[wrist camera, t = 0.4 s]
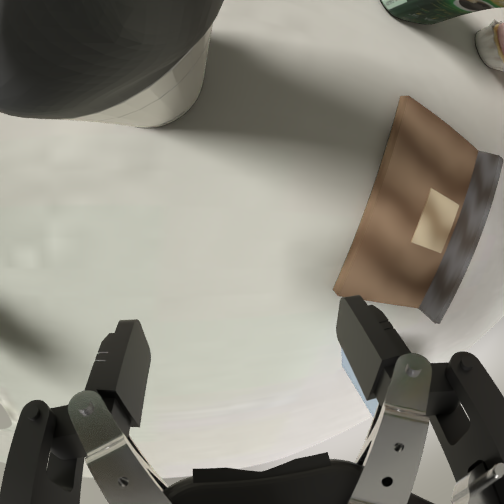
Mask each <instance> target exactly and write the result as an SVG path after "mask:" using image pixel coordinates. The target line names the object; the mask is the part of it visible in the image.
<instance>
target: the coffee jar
mask: <svg viewBox="0 0 504 504" xmlns="http://www.w3.org/2000/svg"><path fill="white" fill-rule="evenodd" d="M380 1H381V2H382V4H383V5H384V7H385V8H386V9H387V10H388V11H389V12H390V13H391V14H392V15H393V16H395V17H397V18H400V19H403V20H406V21H410V22H414V23H420V24H434V23H438V22H441V21H444V20H447V19H450V18H453V17H457V16H460V15H464V14H468V13H472V12H476V11H481V10H486V9H491V8H501V7H504V0H380Z"/></svg>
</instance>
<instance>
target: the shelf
mask: <svg viewBox="0 0 504 504" xmlns="http://www.w3.org/2000/svg"><path fill="white" fill-rule="evenodd" d="M502 164H503V159H502V158H501V157H500V156H498V155H494V154H490V153H485V152H481V151H478V150H477V149H476V148H475V147H474V146H472V145H471V144H470V143H469V142H468V141H467V140H466V139H465V138H463V137H462V136H461V135H460V134H459V133H457V132H456V131H455V130H454V129H453V128H451V127H450V126H449V125H448V124H446V123H445V122H444V121H443V120H441V119H440V118H439V117H437V116H436V115H435V114H434V113H432V112H431V111H429V110H428V109H427V108H425V107H424V106H423V105H421V104H420V103H418V102H417V101H416V100H414V99H413V98H411V97H410V96H400V100H399V103H398V107H397V111H396V115H395V118H394V122H393V125H392V129H391V132H390V136H389V139H388V143H387V146H386V149H385V152H384V156H383V159H382V162H381V165H380V168H379V171H378V174H377V177H376V180H375V183H374V186H373V189H372V192H371V195H370V197H369V200H368V203H367V206H366V208H365V211H364V214H363V217H362V219H361V222H360V225H359V227H358V230H357V232H356V235H355V238H354V240H353V243H352V245H351V248H350V250H349V253H348V255H347V257H346V260H345V262H344V265H343V267H342V269H341V272H340V274H339V276H338V279H337V281H336V283H335V286H334V288H333V290H334V292H335V293H336V294H337V295H338V296H342V297H349V296H355V295H360V296H361V297H362V298H363V300H367V301H373V302H380V303H386V304H393V305H400V306H407V307H414V308H419V309H420V310H421V311H422V312H423V313H424V314H425V315H427V316H428V317H429V318H430V319H431V320H432V321H433V322H434V323H438V324H440V322H441V320H442V318H443V316H444V315H445V313H446V311H447V309H448V307H449V305H450V303H451V301H452V300H453V298H454V296H455V294H456V292H457V290H458V288H459V285H460V283H461V281H462V279H463V277H464V275H465V273H466V270H467V268H468V266H469V264H470V261H471V259H472V257H473V254H474V252H475V249H476V247H477V244H478V242H479V239H480V236H481V234H482V231H483V228H484V226H485V223H486V220H487V217H488V214H489V211H490V208H491V205H492V201H493V198H494V195H495V191H496V188H497V184H498V180H499V176H500V172H501V168H502Z"/></svg>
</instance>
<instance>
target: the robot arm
mask: <svg viewBox="0 0 504 504" xmlns="http://www.w3.org/2000/svg"><path fill="white" fill-rule="evenodd" d="M223 1H224V0H0V112H1V113H4V114H8V115H11V116H17V117H23V118H38V119H60V120H76V121H90V122H101V123H110V124H119V125H127V126H134V127H137V128H153V127H158V126H163V125H166V124H168V123H170V122H173V121H175V120H176V119H178V118H179V117H181V116H182V115H184V114H185V113H186V112H187V111H188V110H189V109H190V108H191V107H192V105H193V104H194V102H195V101H196V100H197V98H198V96H199V94H200V91H201V89H202V84H203V79H204V74H205V67H206V61H207V55H208V49H209V43H210V37H211V31H212V24H213V22H214V20H215V18H216V16H217V14H218V12H219V10H220V8H221V6H222V3H223ZM336 332H337V338H338V341H339V343H340V345H341V347H342V349H343V351H344V353H345V355H346V358H347V360H348V362H349V364H350V366H351V368H352V370H353V372H354V374H355V377H356V379H357V381H358V383H359V385H360V387H361V390H362V392H363V394H364V396H365V398H366V400H367V401H368V400H372V399H375V398H376V399H377V401H378V403H379V404H378V406H377V409H376V412H375V415H374V417H373V420H372V423H371V426H370V429H369V431H368V434H367V437H366V439H365V442H364V444H363V447H362V449H361V451H360V453H359V455H358V457H357V459H356V461H355V463H353V462H350V461H345V460H337V459H329V456H328V452H326V453H322V454H318V455H313V456H308V457H303V458H298V459H294V460H292V461H289V462H287V463H284V464H283V465H279V466H277V467H274V468H271V469H269V470H266V471H262V472H257V471H247V470H239V469H232V468H210V469H193V476H192V477H189V478H186V479H183V480H180V481H178V482H176V483H174V484H173V485H171V486H168V485H167V484H166V483H165V482H164V481H163V480H162V478H161V477H160V476H159V475H158V474H157V473H156V471H155V470H154V469H153V468H152V466H151V465H150V464H149V462H148V461H147V460H146V458H145V457H144V456H143V454H142V453H141V451H140V450H139V449H138V447H137V446H136V444H135V443H134V441H133V440H132V438H131V437H130V436H129V430H130V427H140V422H141V415H142V409H143V402H144V396H145V390H146V384H147V378H148V373H149V367H150V362H151V354H150V348H149V345H148V343H147V340H146V337H145V335H144V332H143V329H142V327H141V324H140V322H139V320H137V319H136V320H120V321H119V323H118V325H117V328H116V331H115V333H109V334H108V336H107V337H106V338H105V339H104V340H103V341H102V343H101V345H100V348H99V351H98V354H97V356H96V359H95V362H94V364H93V367H92V370H91V373H90V376H89V379H88V382H87V385H86V388H85V390H84V391H82V392H79V393H77V394H76V395H75V396H73V397H72V399H71V400H70V402H69V404H68V405H66V406H61V407H56V408H49V406H48V405H47V404H46V403H45V402H44V401H41V400H34V401H31V402H29V403H28V404H26V405H25V406H24V408H23V409H22V411H21V414H20V417H19V420H18V423H17V426H16V430H15V433H14V436H13V440H12V443H11V447H10V451H9V454H8V458H7V463H6V467H5V471H4V476H3V481H2V486H1V492H0V504H79V503H80V491H81V481H82V472H83V464H84V457H86V458H85V461H86V464H87V466H88V468H89V470H90V472H91V474H92V475H93V477H94V479H95V481H96V483H97V484H98V486H99V488H100V489H101V491H102V493H103V495H104V496H105V498H106V499H107V501H108V503H109V504H434V503H432V502H429V501H427V500H425V499H423V498H421V497H419V496H417V495H415V494H412V493H411V491H412V488H413V485H414V481H415V478H416V475H417V471H418V468H419V464H420V460H421V457H422V453H423V449H424V444H425V440H426V435H427V431H428V426H429V420H430V422H431V424H432V426H433V429H434V430H435V433H436V435H437V437H438V440H439V442H440V444H441V446H442V448H443V451H444V453H445V455H446V458H447V460H448V462H449V464H450V467H451V470H452V472H453V475H454V477H455V480H456V482H457V483H456V485H455V487H454V489H453V495H452V498H451V502H452V504H504V397H503V395H502V394H501V392H500V391H499V389H498V388H497V386H496V385H495V383H494V382H493V380H492V379H491V377H490V376H489V374H488V373H487V371H486V370H485V368H484V367H483V365H482V364H481V363H480V361H479V360H478V358H476V357H475V356H474V355H473V354H471V353H468V352H457V353H455V354H454V355H453V356H452V358H451V360H450V362H449V363H430V362H429V361H428V360H427V359H426V358H425V357H423V356H421V355H419V354H415V353H411V352H410V350H409V349H408V347H407V346H406V345H405V343H404V342H403V340H402V339H401V337H400V336H399V334H398V333H397V332H396V330H395V329H393V326H392V324H391V323H390V322H388V319H387V317H386V316H385V315H384V313H383V312H382V311H381V310H379V309H378V308H376V307H375V306H373V305H369V306H368V305H367V304H366V303H365V301H364V300H363V298H362V297H361V296H360V295H355V296H349V297H343V298H341V300H340V304H339V312H338V319H337V326H336ZM460 403H461V404H462V405H463V407H464V409H465V411H466V413H467V414H468V416H469V418H470V421H469V419H468V417H467V415H466V414H465V412H464V410H463V408H462V406H461V404H460ZM49 453H50V456H49ZM87 456H88V457H87ZM48 458H49V461H48ZM47 463H48V466H47Z"/></svg>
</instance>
